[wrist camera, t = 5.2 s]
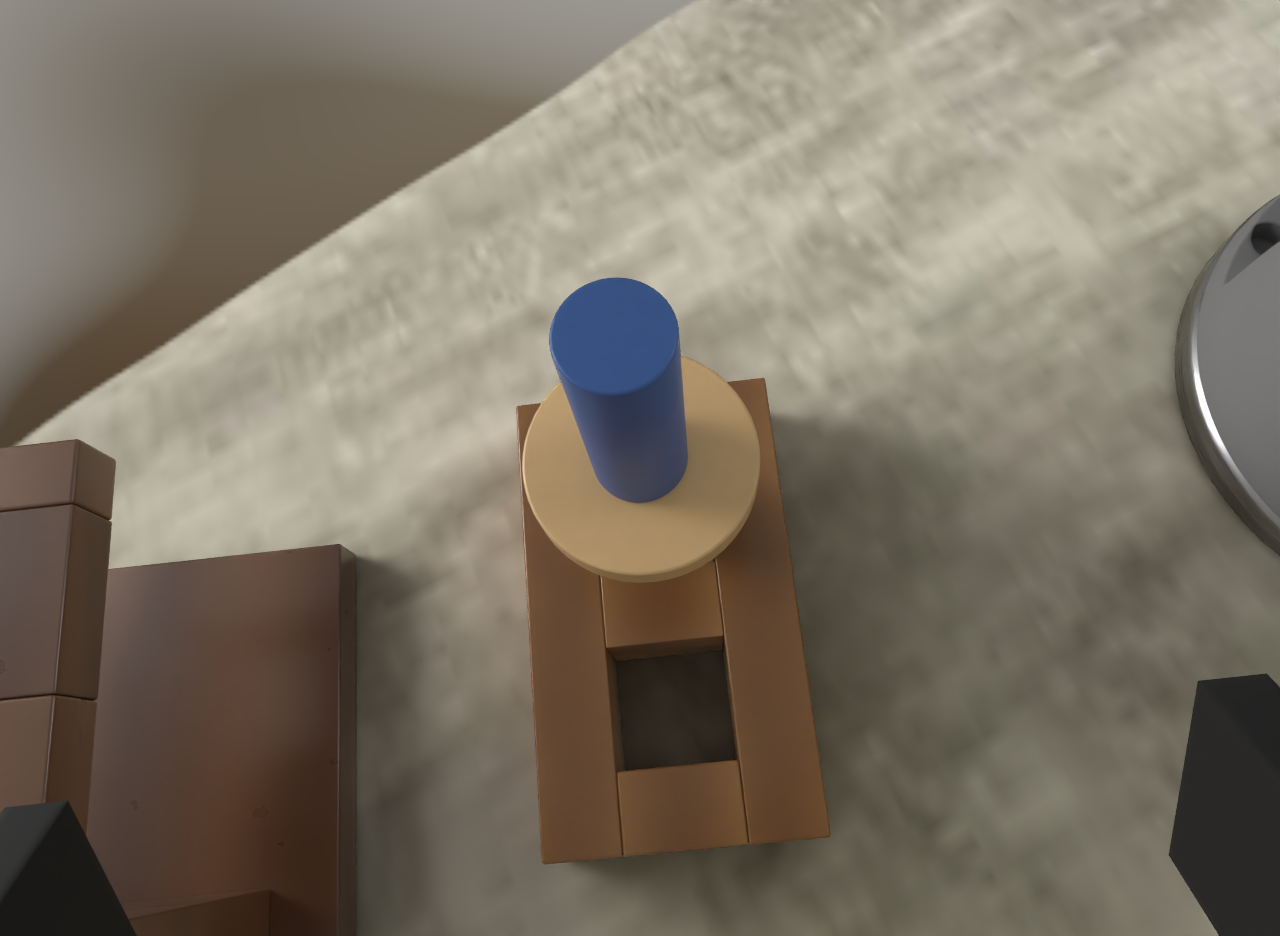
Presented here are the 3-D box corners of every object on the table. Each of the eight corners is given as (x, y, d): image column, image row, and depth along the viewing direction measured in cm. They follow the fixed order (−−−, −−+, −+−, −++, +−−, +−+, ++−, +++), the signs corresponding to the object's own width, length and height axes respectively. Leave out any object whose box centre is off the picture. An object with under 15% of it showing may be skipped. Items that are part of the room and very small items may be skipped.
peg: (737, 440, 33) (755, 175, 19) (760, 617, 31) (800, 470, 17) (560, 460, 33) (446, 213, 19) (572, 637, 32) (457, 508, 17)
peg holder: (760, 412, 33) (764, 377, 31) (819, 832, 29) (831, 837, 26) (532, 437, 34) (515, 405, 31) (558, 857, 29) (541, 864, 27)
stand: (356, 554, 33) (168, 427, 22) (357, 950, 29) (129, 1051, 18) (6, 592, 33) (-360, 487, 22) (-39, 987, 30) (-509, 1109, 18)
